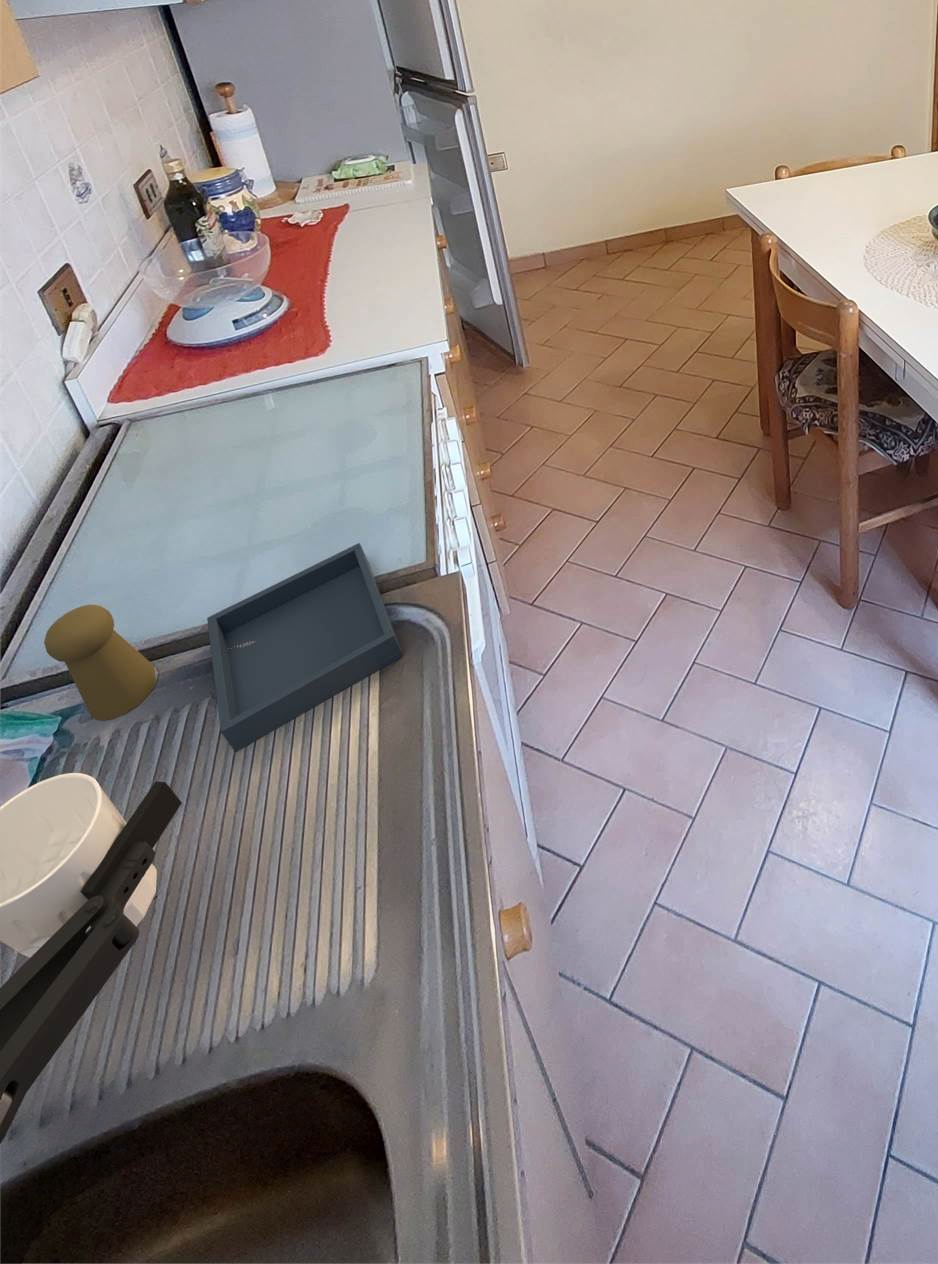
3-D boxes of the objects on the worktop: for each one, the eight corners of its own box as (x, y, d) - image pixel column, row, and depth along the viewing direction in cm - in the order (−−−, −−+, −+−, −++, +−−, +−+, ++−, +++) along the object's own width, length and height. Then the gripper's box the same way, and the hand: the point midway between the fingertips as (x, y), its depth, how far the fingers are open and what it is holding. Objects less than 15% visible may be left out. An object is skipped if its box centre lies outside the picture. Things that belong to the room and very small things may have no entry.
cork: (160, 694, 81) (109, 623, 76) (89, 733, 78) (30, 662, 73) (156, 653, 85) (107, 583, 80) (88, 688, 82) (33, 618, 77)
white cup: (155, 824, 60) (90, 747, 55) (179, 910, 55) (111, 834, 50) (24, 915, 55) (-59, 841, 50) (38, 1019, 50) (-53, 947, 45)
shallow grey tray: (219, 637, 86) (206, 617, 85) (368, 561, 94) (359, 542, 92) (235, 752, 75) (220, 731, 73) (403, 656, 82) (393, 635, 81)
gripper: (-391, 1316, 39) (13, 813, 59) (-22, 1361, 37) (269, 823, 57) (-522, 1278, 36) (-44, 755, 56) (-121, 1326, 34) (227, 764, 53)
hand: (114, 790), depth 56 cm, fingers closed on white cup, 8 cm apart
